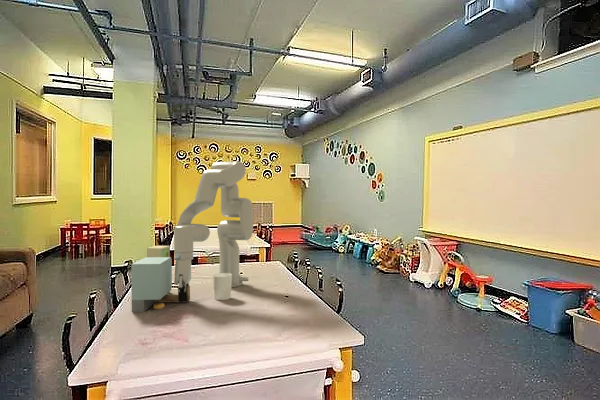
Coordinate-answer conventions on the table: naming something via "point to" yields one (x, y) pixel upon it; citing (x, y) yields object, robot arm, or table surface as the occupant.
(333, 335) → the table surface
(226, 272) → the robot arm
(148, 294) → the cabinet
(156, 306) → the orange round disc
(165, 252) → the toy refrigerator
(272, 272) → the table surface
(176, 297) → the brown boxy piece
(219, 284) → the white cup
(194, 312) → the table surface
